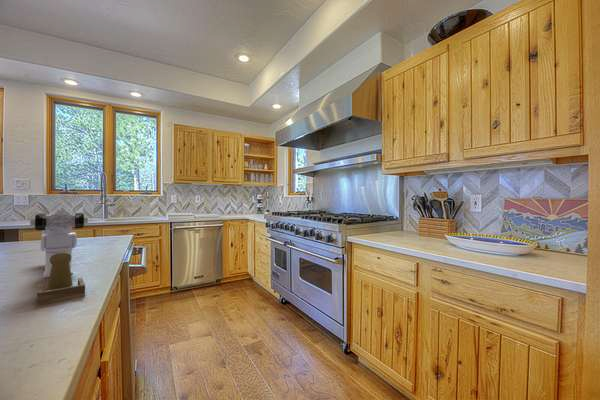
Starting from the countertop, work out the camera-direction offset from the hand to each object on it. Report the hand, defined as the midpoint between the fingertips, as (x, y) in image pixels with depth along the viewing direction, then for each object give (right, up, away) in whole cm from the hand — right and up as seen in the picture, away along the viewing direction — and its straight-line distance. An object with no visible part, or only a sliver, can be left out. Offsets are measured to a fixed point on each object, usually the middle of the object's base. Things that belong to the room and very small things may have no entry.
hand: (61, 221), depth 82 cm
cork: (-1, -22, 0) cm, 22 cm away
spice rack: (+7, -22, -7) cm, 24 cm away
